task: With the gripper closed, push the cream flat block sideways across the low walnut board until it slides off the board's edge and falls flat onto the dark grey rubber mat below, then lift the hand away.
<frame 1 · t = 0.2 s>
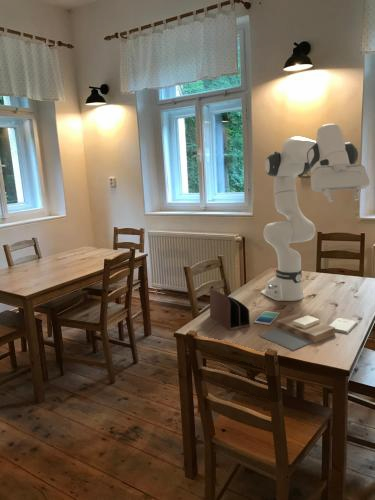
hand: (344, 200, 142), 54 cm above the table, tool tilted 30°, fingers open, 8 cm apart
cream flat block: (306, 323, 166), point 3 cm above the table, touching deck
external hard drive: (342, 327, 169), on the table
letter holder: (229, 321, 181), on the table
smartphone: (267, 319, 182), on the table
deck: (304, 331, 166), on the table
mat: (284, 338, 160), on the table
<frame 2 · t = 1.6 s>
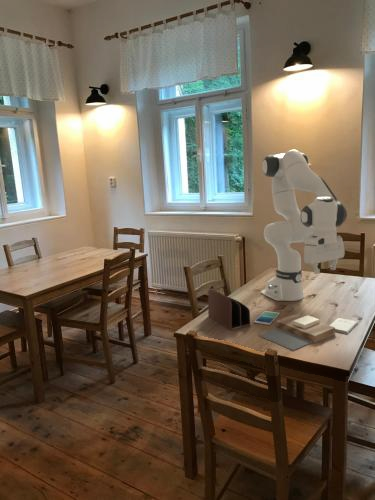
hand: (324, 271, 165), 24 cm above the table, tool pointing down, fingers open, 8 cm apart
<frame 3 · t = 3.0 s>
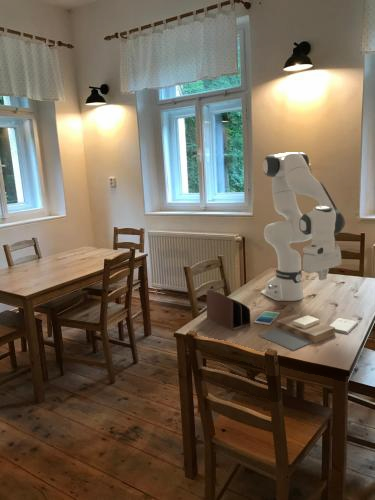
hand: (322, 279, 168), 20 cm above the table, tool pointing down, fingers closed
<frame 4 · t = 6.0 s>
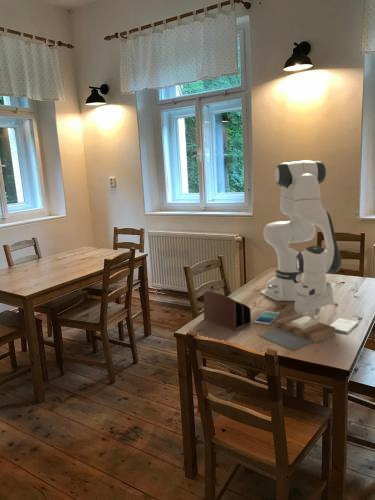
hand: (314, 318, 168), 4 cm above the table, tool pointing down, fingers closed
cream flat block: (304, 324, 165), point 3 cm above the table, touching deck
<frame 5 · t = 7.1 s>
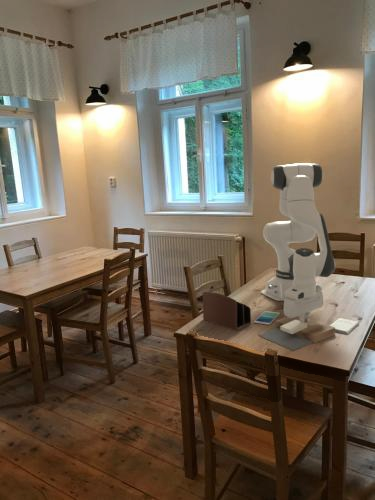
hand: (304, 322, 165), 4 cm above the table, tool pointing down, fingers closed
cream flat block: (293, 328, 162), point 3 cm above the table, touching gripper
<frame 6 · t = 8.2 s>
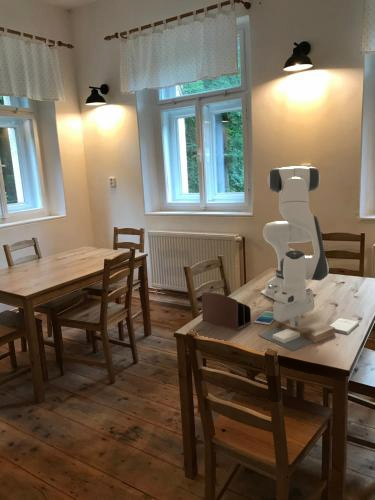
hand: (294, 326, 162), 4 cm above the table, tool pointing down, fingers closed
cream flat block: (286, 337, 160), resting on mat
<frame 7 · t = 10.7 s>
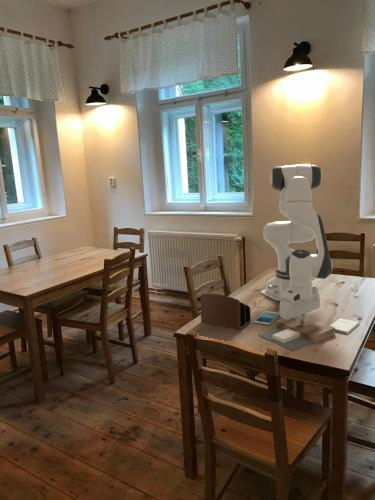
hand: (300, 323, 164), 4 cm above the table, tool pointing down, fingers closed
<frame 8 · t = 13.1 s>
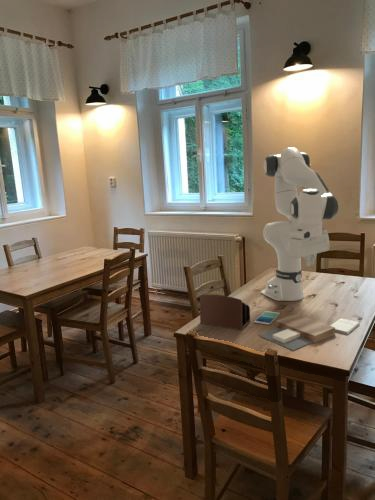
hand: (309, 265, 162), 27 cm above the table, tool pointing down, fingers closed
at the end: cream flat block resting on mat; cream flat block inside the target area on the mat (0.8 cm from its centre), point 0.4 cm above the mat's base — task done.
